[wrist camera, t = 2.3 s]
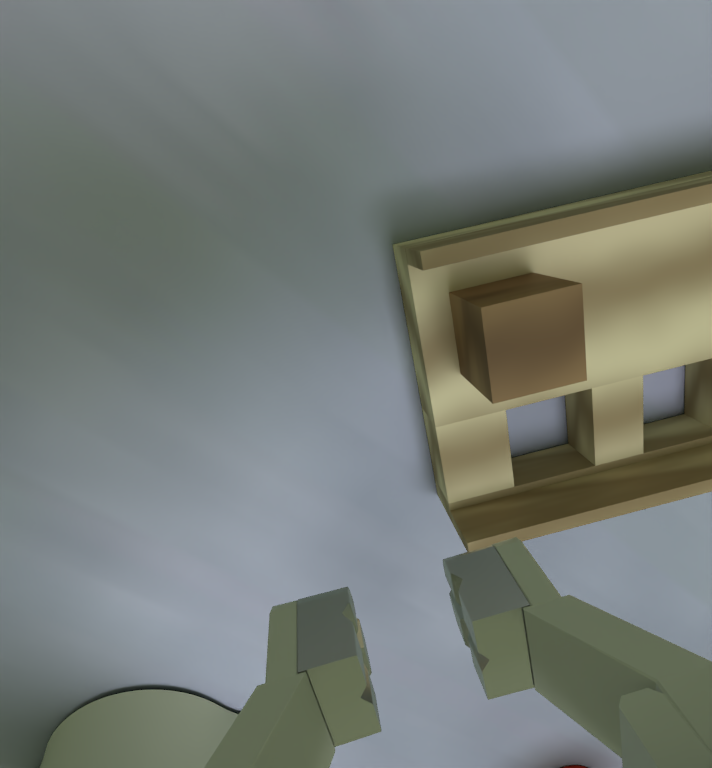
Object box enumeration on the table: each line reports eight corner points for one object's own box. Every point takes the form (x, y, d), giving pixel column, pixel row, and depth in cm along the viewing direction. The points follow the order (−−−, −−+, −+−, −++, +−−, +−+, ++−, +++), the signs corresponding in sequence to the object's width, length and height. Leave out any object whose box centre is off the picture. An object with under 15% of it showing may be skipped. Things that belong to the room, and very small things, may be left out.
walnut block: (540, 354, 26) (586, 380, 22) (460, 373, 26) (492, 403, 21) (532, 272, 24) (582, 283, 20) (448, 292, 24) (480, 307, 20)
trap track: (767, 409, 32) (888, 458, 26) (437, 494, 31) (475, 567, 25) (791, 151, 27) (952, 130, 20) (392, 244, 26) (426, 253, 19)
